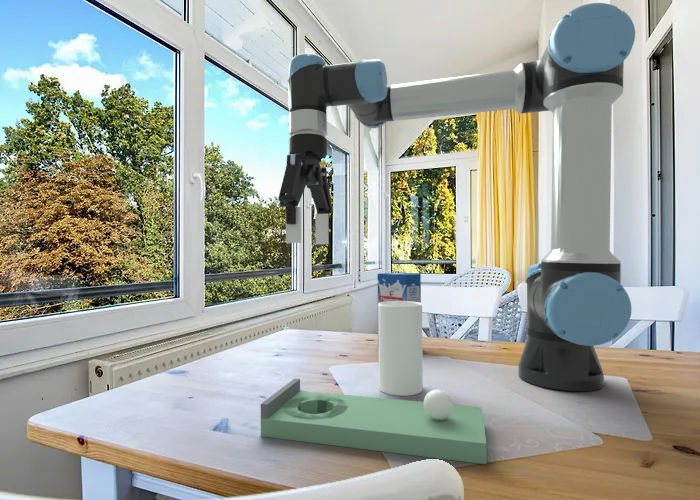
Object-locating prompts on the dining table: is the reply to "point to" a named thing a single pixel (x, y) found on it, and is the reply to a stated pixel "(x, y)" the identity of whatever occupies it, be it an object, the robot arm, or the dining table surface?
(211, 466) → the dining table surface
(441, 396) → the ball
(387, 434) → the green
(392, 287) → the milk carton
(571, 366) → the robot arm
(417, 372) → the cup
